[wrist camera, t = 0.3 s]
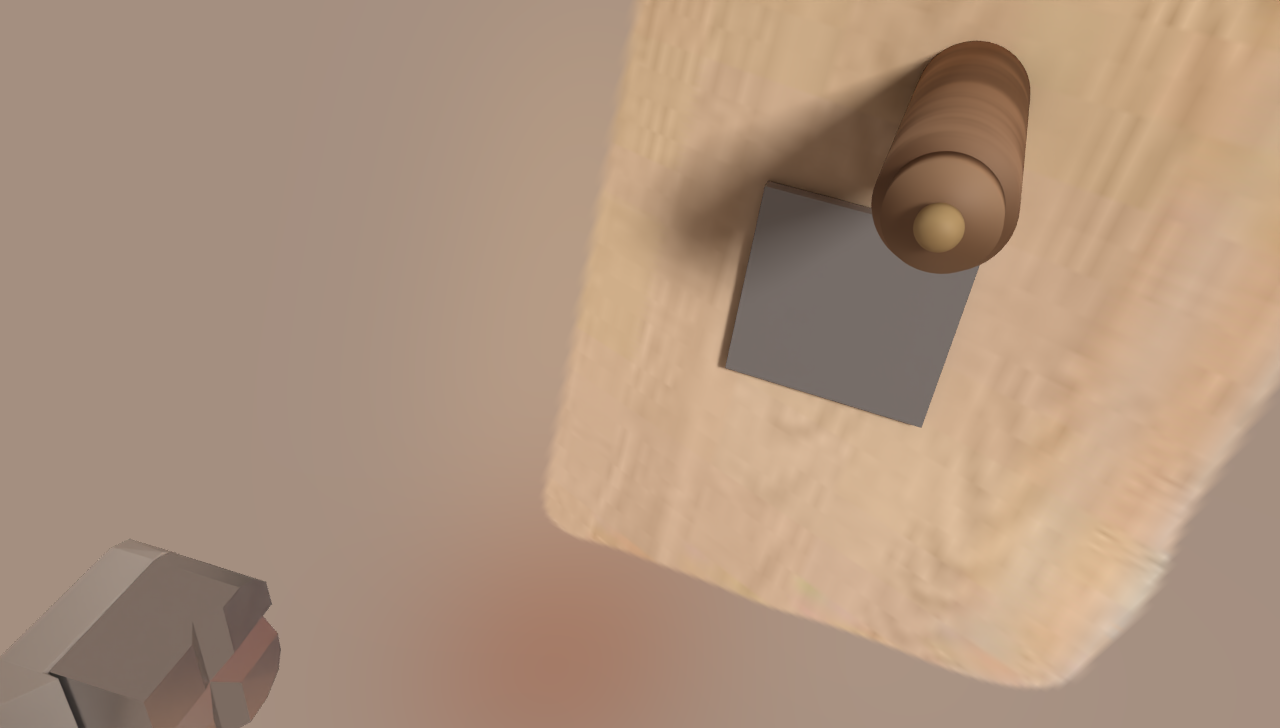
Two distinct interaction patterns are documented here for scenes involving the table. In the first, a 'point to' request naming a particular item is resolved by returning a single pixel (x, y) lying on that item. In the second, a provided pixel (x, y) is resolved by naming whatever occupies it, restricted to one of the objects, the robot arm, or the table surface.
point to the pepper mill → (956, 161)
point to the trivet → (842, 309)
